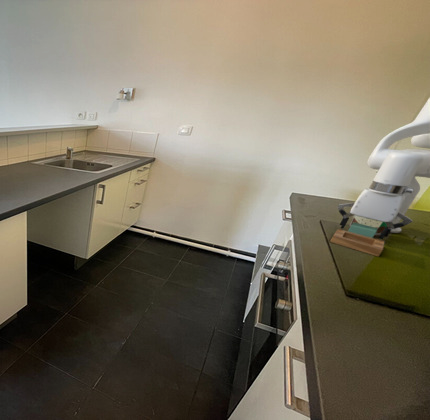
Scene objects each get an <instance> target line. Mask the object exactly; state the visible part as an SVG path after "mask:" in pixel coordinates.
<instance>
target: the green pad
mask: <svg viewBox="0 0 430 420" xmlns="http://www.w3.org/2000/svg"><path fill="white" fill-rule="evenodd" d="M348 231H349V232H352V233H356V234H360V235H364V236H367V237H371V238H375V237H374V235H375V233H376V231H377V228H375V227H371V226H367V225H363V224H359V223H355V222H353V224H352V225H351V227H350V226H349V228H348Z"/></svg>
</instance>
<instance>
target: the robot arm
mask: <svg viewBox="0 0 430 420" xmlns="http://www.w3.org/2000/svg"><path fill="white" fill-rule="evenodd" d="M408 138H411V139H410V144H411V145H412V146H413V147H415V148H406V149H392V148H391V146H392V145H393V144H395V143H397V142H399V141H401V140H404V139H408ZM416 147H417V148H416ZM390 148H391V149H390ZM366 164H367V166H368V168H370V169H373V170H377V172H376V174H375V176H374V178H373V179H372V182H371V183H370V185H369V187H368V188H364V189H363V190H362V192H361V193H360V194H359V195H358V197H357V199H356V200H355V201H354V202H348V203H346V202H345V203H339V204H338V205H337V209H338V212H339V214H340V215H341V216H342V219H341V221H340V223H339V226H340V229H345V227H346V225H347V223H348V221H349V220H350V217H354V215H356V216H360V217H364V218H368V219H372V220H377V221H381V222H385V223H386V225H387V227H385V228H384V230H383V232H382V233H381V235H380V236H378V237H379V240H383V238H387V237H388V236H389V235H390V234H391V233H392V234H399V233H401V232H402V231H403V230H402V228H403V227H405V226H407V225H410V224H411V223H413V219H411V218H410V217H409V216H406V215H405V214H406V213H407V211H408V210H409V208H410V207H411V205H412V203H413V202H414V200H415V199H416V197H417V196H418V194H419V192H420V191H421V185H420V183H419V180H418V179H417V178H416V177H418V178H419V177H420V178H426V179H427V178H428V179H430V97H428V99H427V101H426V102H425V104H424V105H423V106H422V107H421V110H420V111H419V112H418V114H417V116H416V117H415V118H414V120H413V121H412V122H410V123H407V124H405V125H403V126H401V127H398V128H396V129H395V130H392V131H391V132H390V133H388V134H386V135H385V136H383V138H381V140H379V142H378V143H377V144H376V146H375V148H374V149H373V151H372V152H371V153H370V155H369V157H368V159H367V163H366ZM345 208H350V211H349V212H346V210H345ZM396 216H397V219H395V217H396ZM401 220H402V221H401Z"/></svg>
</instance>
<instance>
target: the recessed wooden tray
mask: <svg viewBox="0 0 430 420" xmlns="http://www.w3.org/2000/svg"><path fill="white" fill-rule="evenodd" d="M329 243H332V244H335V245H339V246H342V247H346V248H347V249H352V250H354V251H359V252H361V253H365V254H369V255H372V256H375V257H380V255H381V254H382V252H383V251H384V247H385V246H384V245H385V240H383V239H380V238H379V239H378V238H376V237H373V238H371V237H367V236H364V235H360V234H356V233H352V232H349V230H345V229H342V228H337V230H336V231H335V233H334V234H333V235H332V237H331V239H330V240H329Z"/></svg>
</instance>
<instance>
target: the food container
mask: <svg viewBox="0 0 430 420" xmlns="http://www.w3.org/2000/svg"><path fill="white" fill-rule="evenodd" d="M395 219H397V216H396V217H395ZM353 222H355V223H359V224H363V225H367V226H371V227H375V228H377V231H376V233H375V235H374V237H373V238H378V237H380V235H381V233H382V232H383V230H384V228H385V227H387V225H386V223H385V222H381V221H377V220H372V219H368V218H364V217H360V216H356V215H353V216H352V219H351V221H350V224H349V228H350V227H351V225H352V224H353Z"/></svg>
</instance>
